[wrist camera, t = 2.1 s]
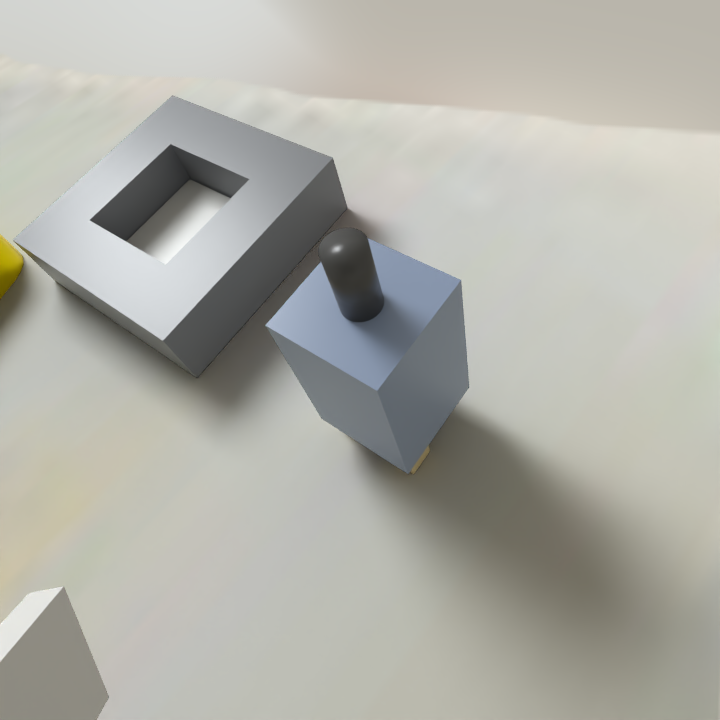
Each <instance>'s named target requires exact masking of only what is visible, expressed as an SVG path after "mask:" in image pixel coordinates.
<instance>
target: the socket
mask: <svg viewBox="0 0 720 720" xmlns="http://www.w3.org/2000/svg"><path fill="white" fill-rule="evenodd" d="M346 209H347V204H346V201H345V198H344V194H343V191H342V187H341V184H340V181H339V177H338V174H337V170H336V167H335V164H334V160H333V158H332V157H329V156H327V155H324V154H322V153H319V152H316V151H314V150H311V149H309V148H306V147H304V146H301V145H298V144H296V143H293V142H291V141H288V140H286V139H283V138H281V137H278V136H275V135H273V134H270V133H268V132H265V131H263V130H260V129H257V128H255V127H252V126H250V125H247V124H245V123H242V122H239V121H237V120H234V119H232V118H229V117H227V116H224V115H222V114H219V113H216V112H214V111H211V110H209V109H206V108H204V107H201V106H198V105H196V104H193V103H191V102H188V101H186V100H183V99H180V98H178V97H175V96H173V95H172V96H171V97H170V98H169V99H168V100H167V101H166V102H165V103H164V104H162V105H161V106H160V107H159V108H158V109H157V110H156V111H155V112H154V113H152V114H151V115H150V116H149V117H148V118H147V119H146V120H145V121H144V122H142V123H141V124H140V125H139V126H138V127H137V128H136V129H135V130H134V131H133V132H131V133H130V134H129V135H128V136H127V137H126V138H125V139H124V140H123V141H121V142H120V143H119V144H118V145H117V146H116V147H115V148H114V149H113V150H111V151H110V152H109V153H108V154H107V155H106V156H105V157H104V158H103V159H101V160H100V161H99V162H98V163H97V164H96V165H95V166H94V167H93V168H92V169H90V170H89V171H88V172H87V173H86V174H85V175H84V176H83V177H82V178H80V179H79V180H78V181H77V182H76V183H75V184H74V185H73V186H72V187H70V188H69V189H68V190H67V191H66V192H65V193H64V194H63V195H62V196H60V197H59V198H58V199H57V200H56V201H55V202H54V203H53V204H52V205H51V206H49V207H48V208H47V209H46V210H45V211H44V212H43V213H42V214H41V215H39V216H38V217H37V218H36V219H35V220H34V221H33V222H32V223H31V224H29V225H28V226H27V227H26V228H25V229H24V230H23V231H22V232H21V233H20V234H18V235H17V236H16V237H15V238H14V239H13V241H14V242H15V243H16V244H17V245H18V246H19V247H20V248H21V249H22V250H23V251H25V252H26V253H27V254H28V255H29V256H30V257H31V258H32V259H33V260H34V261H35V262H36V263H37V264H38V265H39V266H40V267H41V268H42V269H43V270H44V271H45V272H46V273H47V274H48V275H49V276H51V277H52V278H53V279H54V280H55V281H56V282H58V283H59V284H61V285H62V286H64V287H65V288H66V289H68V290H69V291H71V292H72V293H74V294H75V295H77V296H78V297H80V298H81V299H82V300H84V301H85V302H87V303H88V304H90V305H91V306H93V307H94V308H96V309H97V310H98V311H100V312H101V313H103V314H104V315H106V316H107V317H109V318H110V319H112V320H113V321H115V322H116V323H117V324H119V325H120V326H122V327H123V328H125V329H126V330H128V331H129V332H131V333H132V334H133V335H135V336H136V337H138V338H139V339H141V340H142V341H144V342H145V343H147V344H148V345H149V346H151V347H152V348H154V349H155V350H157V351H158V352H160V353H161V354H163V355H164V356H166V357H167V358H168V359H170V360H171V361H173V362H174V363H176V364H177V365H179V366H180V367H182V368H183V369H184V370H186V371H187V372H189V373H190V374H192V375H193V376H195V377H196V378H197V377H198V376H199V375H200V374H201V373H202V372H203V371H204V369H205V368H206V367H207V366H208V365H209V364H210V363H211V362H212V360H213V359H214V358H215V357H216V356H217V355H218V354H219V352H220V351H221V350H222V349H223V348H224V347H225V346H226V345H227V343H228V342H229V341H230V340H231V339H232V338H233V337H234V336H235V334H236V333H237V332H238V331H239V330H240V329H241V328H242V326H243V325H244V324H245V323H246V322H247V321H248V320H249V319H250V317H251V316H252V315H253V314H254V313H255V312H256V311H257V310H258V308H259V307H260V306H261V305H262V304H263V303H264V302H265V300H266V299H267V298H268V297H269V296H270V295H271V294H272V293H273V291H274V290H275V289H276V288H277V287H278V286H279V285H280V284H281V282H282V281H283V280H284V279H285V278H286V277H287V276H288V274H289V273H290V272H291V271H292V270H293V269H294V268H295V267H296V265H297V264H298V263H299V262H300V261H301V260H302V259H303V258H304V256H305V255H306V254H307V253H308V252H309V251H310V250H311V248H312V247H313V246H314V245H315V244H316V243H317V242H318V241H319V239H320V238H321V237H322V236H323V235H324V234H325V233H326V231H327V230H328V229H329V228H330V227H331V226H332V225H333V224H334V222H335V221H336V220H337V219H338V218H339V217H340V216H341V215H342V213H343V212H344V211H345V210H346Z"/></svg>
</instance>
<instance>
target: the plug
mask: <svg viewBox="0 0 720 720" xmlns="http://www.w3.org/2000/svg"><path fill="white" fill-rule="evenodd" d="M318 254H319V258H320V260H321V262H320V263H319V264H318V265H317V267H316V268H315V269H314V270H313V271H312V272H311V273H310V275H309V276H308V277H307V278H306V279H305V280H304V282H303V283H302V284H301V285H300V286H299V287H298V288H297V290H296V291H295V292H294V293H293V294H292V295H291V296H290V298H289V299H288V300H287V301H286V302H285V303H284V305H283V306H282V307H281V308H280V309H279V310H278V311H277V313H276V314H275V315H274V316H273V317H272V318H271V319H270V321H269V322H268V323H267V324H266V325H265V326H266V327H267V329H268V331H269V332H270V334H271V336H272V337H273V339H274V341H275V342H276V344H277V346H278V347H279V349H280V350H281V352H282V354H283V355H284V357H285V359H286V360H287V362H288V364H289V365H290V367H291V369H292V370H293V372H294V374H295V375H296V377H297V379H298V380H299V382H300V384H301V385H302V387H303V389H304V390H305V392H306V393H307V395H308V397H309V398H310V400H311V402H312V403H313V405H314V407H315V408H316V410H317V412H318V413H319V415H320V417H321V418H322V419H323V420H325V421H326V422H328V423H329V424H331V425H332V426H334V427H336V428H337V429H339V430H340V431H342V432H343V433H345V434H346V435H348V436H350V437H351V438H353V439H354V440H356V441H357V442H359V443H360V444H362V445H364V446H365V447H367V448H368V449H370V450H371V451H373V452H374V453H376V454H378V455H379V456H381V457H382V458H384V459H385V460H387V461H388V462H390V463H391V464H393V465H395V466H396V467H398V468H399V469H401V470H402V471H404V472H405V473H407V474H409V472H410V473H412V474H413V475H414V473H415V472H416V471H417V469H418V468H419V466H420V465H421V463H422V462H423V460H424V459H425V458H426V456H427V455H428V453H429V452H430V448H429V444H430V442H431V441H432V439H433V438H434V437H435V435H436V434H437V432H438V431H439V429H440V428H441V427H442V425H443V424H444V422H445V421H446V419H447V418H448V417H449V415H450V414H451V412H452V411H453V409H454V408H455V407H456V405H457V404H458V402H459V401H460V399H461V398H462V397H463V395H464V394H465V392H466V391H467V389H468V388H469V378H468V365H467V352H466V339H465V326H464V312H463V299H462V286H461V280H460V279H457V278H455V277H453V276H451V275H449V274H446V273H444V272H442V271H440V270H437V269H435V268H433V267H431V266H429V265H426V264H424V263H422V262H420V261H417V260H415V259H413V258H411V257H409V256H406V255H404V254H402V253H400V252H397V251H395V250H393V249H391V248H389V247H386V246H384V245H382V244H380V243H378V242H375V241H373V240H371V239H369V238H367V236H366V235H365V234H364V233H363V232H362V231H360V230H358V229H354V228H341V229H338V230H335V231H333V232H331V233H329V234H328V235H327V236H326V237H325V238H324V239H323V240H322V241H321V243H320V245H319V249H318Z"/></svg>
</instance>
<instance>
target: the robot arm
mask: <svg viewBox="0 0 720 720" xmlns="http://www.w3.org/2000/svg"><path fill="white" fill-rule="evenodd" d="M108 698H109V696H108V693H107V691H106V688H105V686H104V683H103V681H102V679H101V676H100V674H99V671H98V669H97V666H96V664H95V661H94V659H93V656H92V654H91V652H90V649H89V647H88V644H87V642H86V639H85V637H84V634H83V632H82V630H81V627H80V625H79V622H78V620H77V617H76V615H75V612H74V610H73V608H72V605H71V603H70V600H69V598H68V595H67V593H66V590H65V588H64V586H63V587H58V588H52V589H47V590H42V591H37V592H32V593H29V594H28V595H27V596H26V597H25V598H24V599H23V600H22V601H21V602H20V603H19V604H18V606H17V607H16V608H15V609H14V610H13V611H12V612H11V613H10V614H9V615H8V616H7V618H6V619H5V620H4V621H3V622H2V623H1V624H0V720H97V718H98V716H99V714H100V712H101V711H102V709H103V707H104V705H105V703H106V702H107V700H108Z"/></svg>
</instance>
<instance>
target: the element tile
mask: <svg viewBox="0 0 720 720" xmlns="http://www.w3.org/2000/svg"><path fill="white" fill-rule="evenodd" d="M22 267H23V256H22V255H21V254H20V253H19V251H18V250H17V249H15V248H14V247H13V246H12V245H11V244H10V243H9V242H8V241H7V240H6V239H5V238H4V237H3V236H2V235H1V234H0V299H1V298H2V296H3V295H4V294H5V293H6V291H7V290H8V289H9V288H10V286H11V285H12V284H13V283H14V281H15V280H16V279H17V277H18V275H19V274H20V272H21V269H22Z"/></svg>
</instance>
